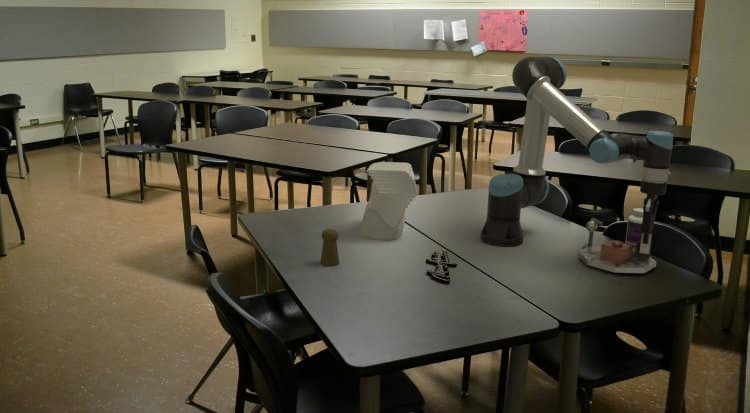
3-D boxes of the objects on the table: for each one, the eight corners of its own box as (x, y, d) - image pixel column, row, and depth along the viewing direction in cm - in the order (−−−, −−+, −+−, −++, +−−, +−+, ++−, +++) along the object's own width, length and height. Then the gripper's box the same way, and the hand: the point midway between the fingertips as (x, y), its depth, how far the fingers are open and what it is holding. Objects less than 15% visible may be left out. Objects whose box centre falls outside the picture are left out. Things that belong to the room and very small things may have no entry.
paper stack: (353, 240, 222) (354, 169, 216) (371, 220, 248) (373, 156, 241) (412, 246, 218) (415, 173, 211) (424, 225, 243) (428, 160, 237)
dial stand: (580, 250, 218) (584, 220, 215) (585, 246, 223) (588, 216, 220) (599, 254, 215) (602, 223, 212) (603, 249, 220) (606, 219, 217)
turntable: (594, 272, 194) (596, 251, 193) (572, 249, 216) (574, 231, 214) (665, 273, 195) (668, 253, 193) (635, 250, 216) (638, 232, 214)
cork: (342, 261, 201) (342, 228, 198) (334, 267, 195) (335, 233, 193) (324, 259, 203) (325, 226, 200) (317, 265, 197) (317, 231, 194)
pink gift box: (620, 261, 200) (622, 246, 199) (600, 255, 205) (601, 241, 204) (631, 257, 204) (633, 242, 203) (611, 251, 209) (613, 237, 208)
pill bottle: (651, 254, 216) (657, 214, 212) (626, 252, 217) (631, 212, 214) (646, 247, 224) (651, 208, 220) (622, 245, 225) (627, 206, 222)
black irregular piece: (462, 281, 184) (428, 280, 184) (462, 286, 184) (428, 285, 184) (453, 251, 210) (423, 250, 211) (452, 255, 211) (423, 254, 211)
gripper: (663, 185, 190) (653, 259, 195) (670, 179, 201) (660, 250, 206) (637, 182, 194) (628, 255, 199) (645, 176, 205) (635, 246, 210)
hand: (644, 252), depth 203 cm, fingers closed
